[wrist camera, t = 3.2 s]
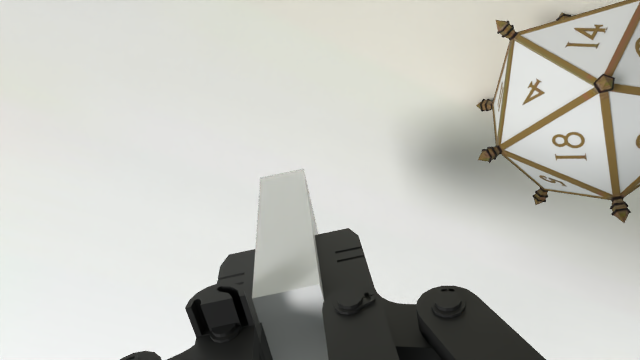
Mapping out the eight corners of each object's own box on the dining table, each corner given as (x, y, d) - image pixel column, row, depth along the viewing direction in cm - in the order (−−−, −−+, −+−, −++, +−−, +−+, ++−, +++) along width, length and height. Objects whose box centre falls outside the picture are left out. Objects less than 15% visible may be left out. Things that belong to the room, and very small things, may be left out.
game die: (470, 55, 26) (434, -14, 16) (660, 1, 22) (749, -124, 13) (504, 224, 25) (487, 250, 16) (707, 194, 22) (835, 206, 12)
